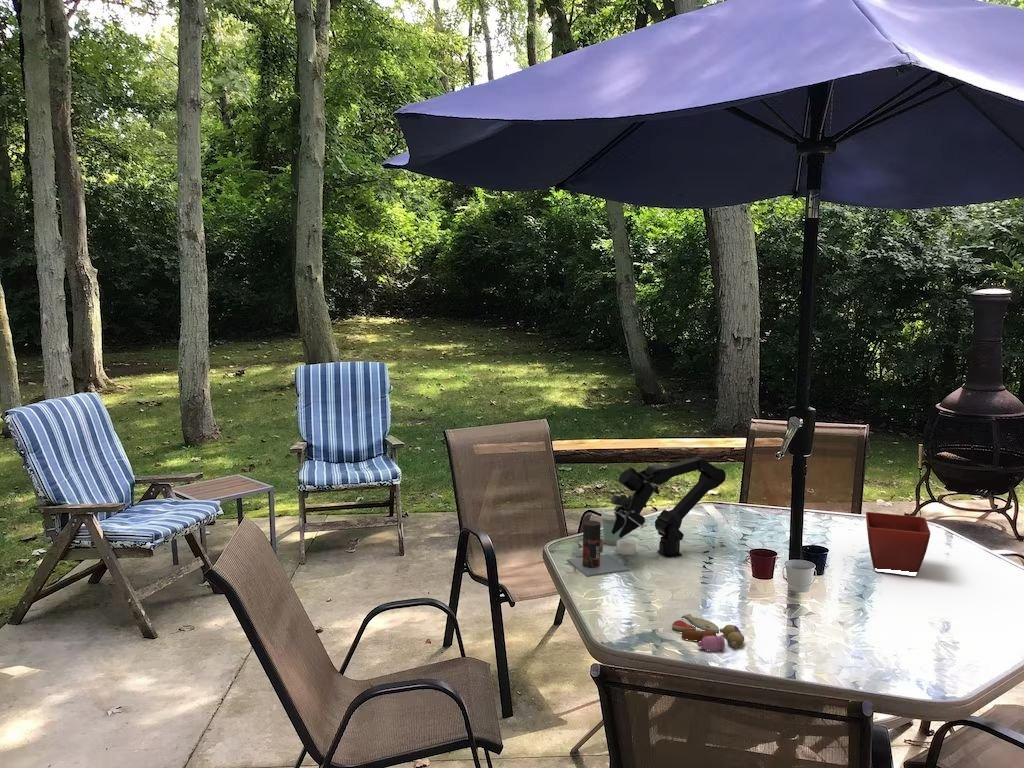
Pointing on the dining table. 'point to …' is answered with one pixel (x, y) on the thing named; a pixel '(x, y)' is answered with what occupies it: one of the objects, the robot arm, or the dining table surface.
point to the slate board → (606, 566)
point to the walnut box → (601, 544)
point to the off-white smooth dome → (626, 547)
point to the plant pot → (897, 541)
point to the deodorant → (591, 544)
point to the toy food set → (708, 633)
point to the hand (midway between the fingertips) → (616, 535)
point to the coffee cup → (609, 527)
